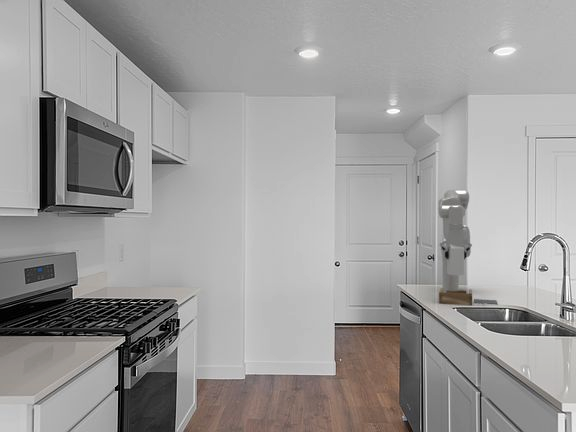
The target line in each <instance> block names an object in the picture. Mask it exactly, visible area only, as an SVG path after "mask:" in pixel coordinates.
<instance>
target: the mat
mask: <svg viewBox="0 0 576 432" xmlns="http://www.w3.org/2000/svg"><path fill="white" fill-rule="evenodd" d="M480 303H487V304H486V305H499V304H498V301H497V300H496V299H481V298H480V299H479V298H478V299H477V298H473V304H480Z"/></svg>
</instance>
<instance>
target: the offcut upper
mask: <svg viewBox="0 0 576 432" xmlns="http://www.w3.org/2000/svg"><path fill="white" fill-rule="evenodd" d="M446 292H448V293H467V291H466V290H465V289H464V290H463V289H462V290H461V289H458V290H450V291H446Z"/></svg>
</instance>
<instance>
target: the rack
mask: <svg viewBox="0 0 576 432" xmlns="http://www.w3.org/2000/svg"><path fill="white" fill-rule="evenodd" d="M438 304H440V305H441V304H443V305H459V306H460V305H461V306H472V305H473V289H468V293H467V292H466V293H448V292H443V287H442V288H440V289H439V292H438Z"/></svg>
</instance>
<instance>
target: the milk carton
mask: <svg viewBox="0 0 576 432" xmlns="http://www.w3.org/2000/svg"><path fill="white" fill-rule="evenodd" d="M450 246H451V248H449V249H448V250H447V252H448V259H447V274H450V275H458V276H465V260H464V248H463V247H459V246H455V245H451V244H450Z"/></svg>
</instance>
